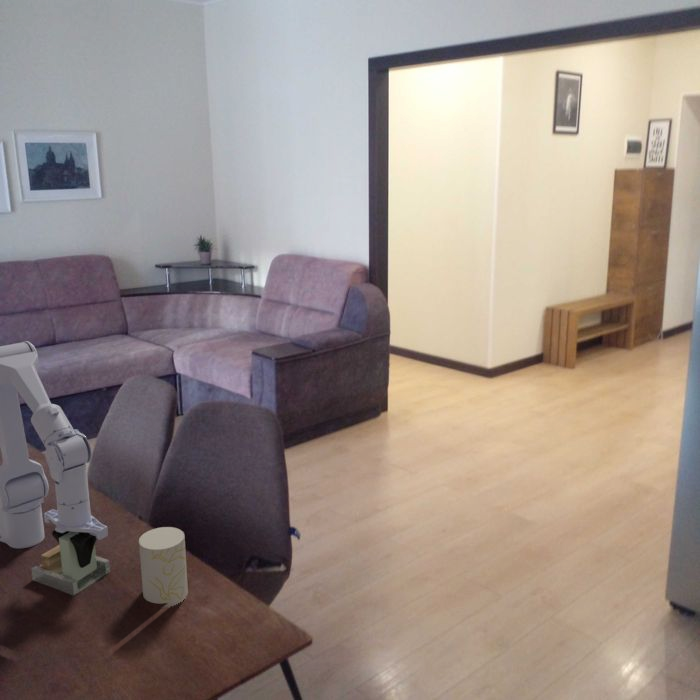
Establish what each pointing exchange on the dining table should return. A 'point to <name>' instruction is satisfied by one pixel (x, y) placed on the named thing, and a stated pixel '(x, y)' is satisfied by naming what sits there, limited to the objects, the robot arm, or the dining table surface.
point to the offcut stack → (52, 560)
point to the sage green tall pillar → (74, 559)
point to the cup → (163, 566)
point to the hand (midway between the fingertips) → (79, 563)
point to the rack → (67, 583)
